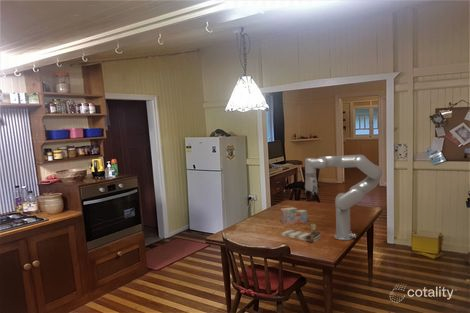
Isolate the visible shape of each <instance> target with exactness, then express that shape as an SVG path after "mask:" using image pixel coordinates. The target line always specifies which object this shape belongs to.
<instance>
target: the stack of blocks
mask: <svg viewBox="0 0 470 313" xmlns="http://www.w3.org/2000/svg"><path fill="white" fill-rule="evenodd" d="M308 220H309V218H308V211H307V210H306V209H298V208H296V207H292V206H291V207H284V208H280V224H282V225H283V226H285V225H294V224H300V223H301V224H302V223H308V222H309V221H308Z"/></svg>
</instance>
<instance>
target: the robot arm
mask: <svg viewBox="0 0 470 313" xmlns="http://www.w3.org/2000/svg"><path fill="white" fill-rule="evenodd" d="M326 167H335V168H336V167H338V168H340V169H341V168H342V169H344V168H345V169H347V168H357V169H358V170H360V171H361V172H362V173H364V174H365V175H366V177H365V178H364V179H363V180H361V181H360V182H358V183H356V184H354V185H352V186H351V187H350V188H349V190H348V191H346V192H340V193H338V194H337V195H336V197H335V201H334V204H335V230H336V231H335V234H333V238H334V239H336V240H340V241H350V240H353V238H355V239H356V238H357V234H356V233H353V231H352V230H351V207H353V206H355V205H357V204H358V203H360V202H362V200H363V199H364V197H365V195H366V194H368V193H369V192H371V191H373V189H375V188H376V187H377V186H378V185H379V183H380V181H381V178H382V176H383V170H382V168H381V167H380V166H379V165H377V164H375V163H373V162H372V161H370V160H369V159H368V158H367V157H366V156H365V155H363V154H349V155H347V154H346V155H330V156H329V155H328V156H319V157H318V158H314V157H306V158H305V160H304V172H305V173H304V175H305V176H304V177H305V178H304V179H305V183H304V190H305V198H307V199H308V198H311V200H312V201H317V200H318V190H319V189H318V181H317V169H321V170H324V169H325V168H326ZM311 193H312V194H311ZM311 196H312V197H311Z"/></svg>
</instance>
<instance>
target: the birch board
mask: <svg viewBox="0 0 470 313" xmlns="http://www.w3.org/2000/svg"><path fill="white" fill-rule="evenodd" d="M310 234H311V232H305V231H299V230H295V229H287V230H285V231H284V232H281V236H282V237H286V238H291V239H292V238H293V239H297V240H300V241H301V240H302V241H306V236H308V235H310ZM320 239H322V236H321V234H319V235H317V236H316V237H314V238H313V242H312V243H315V242H317V241H318V240H320Z"/></svg>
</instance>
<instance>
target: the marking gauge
mask: <svg viewBox="0 0 470 313" xmlns="http://www.w3.org/2000/svg"><path fill="white" fill-rule="evenodd" d="M316 227H317V226H316V223H311V224H310V233H311V234H310V235H308V236H306V240H305V242H310V243H314V242H313V238H314V237H316V236H317V235H321V232H320V231H319V230H317V228H316Z"/></svg>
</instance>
